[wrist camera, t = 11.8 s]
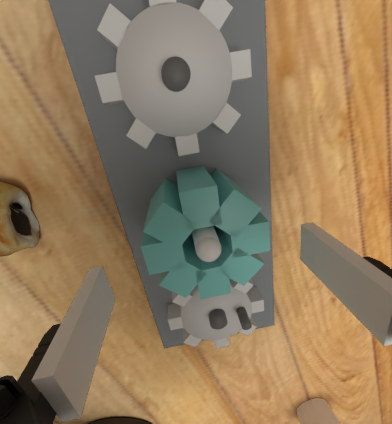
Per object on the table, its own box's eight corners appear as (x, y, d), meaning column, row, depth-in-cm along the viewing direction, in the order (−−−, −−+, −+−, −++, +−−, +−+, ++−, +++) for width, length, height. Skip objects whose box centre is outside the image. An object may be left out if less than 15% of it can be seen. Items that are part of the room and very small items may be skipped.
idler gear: (162, 261, 23) (159, 308, 17) (139, 177, 19) (126, 202, 14) (246, 244, 23) (271, 284, 17) (239, 159, 19) (267, 175, 14)
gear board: (164, 337, 29) (162, 416, 21) (56, 1, 15) (-59, -114, 8) (269, 315, 29) (304, 385, 22) (255, -31, 16) (336, -170, 8)
